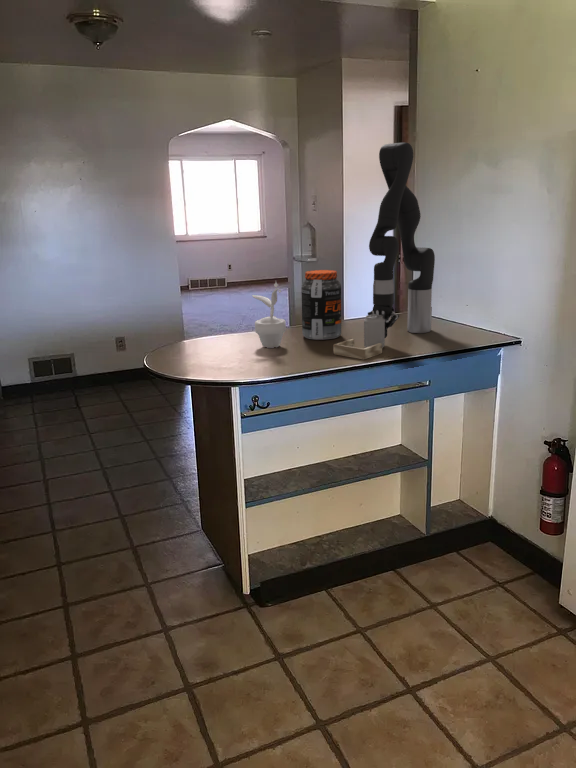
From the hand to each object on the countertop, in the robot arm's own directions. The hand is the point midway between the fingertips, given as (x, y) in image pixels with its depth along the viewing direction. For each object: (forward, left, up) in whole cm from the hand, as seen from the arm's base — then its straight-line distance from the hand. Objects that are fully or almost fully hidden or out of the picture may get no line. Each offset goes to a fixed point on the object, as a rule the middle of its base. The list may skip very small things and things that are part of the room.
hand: (382, 338), depth 236 cm
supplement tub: (+2, -28, -3) cm, 28 cm away
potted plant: (+26, -34, -3) cm, 43 cm away
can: (+6, 0, -3) cm, 6 cm away
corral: (+16, 0, -3) cm, 16 cm away
